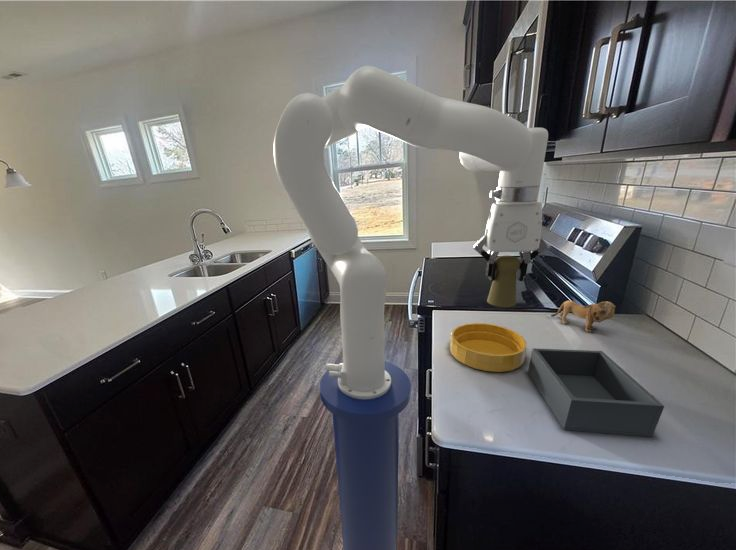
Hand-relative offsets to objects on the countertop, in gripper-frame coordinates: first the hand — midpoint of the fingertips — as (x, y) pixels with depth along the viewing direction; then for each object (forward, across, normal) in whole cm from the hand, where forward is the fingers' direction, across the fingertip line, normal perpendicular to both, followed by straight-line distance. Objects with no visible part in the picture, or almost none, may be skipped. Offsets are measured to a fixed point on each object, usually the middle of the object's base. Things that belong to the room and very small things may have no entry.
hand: (504, 278), depth 72 cm
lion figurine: (+21, +29, +20) cm, 41 cm away
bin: (+21, +12, -15) cm, 29 cm away
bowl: (+21, -1, +2) cm, 21 cm away
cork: (+6, 0, 0) cm, 6 cm away
